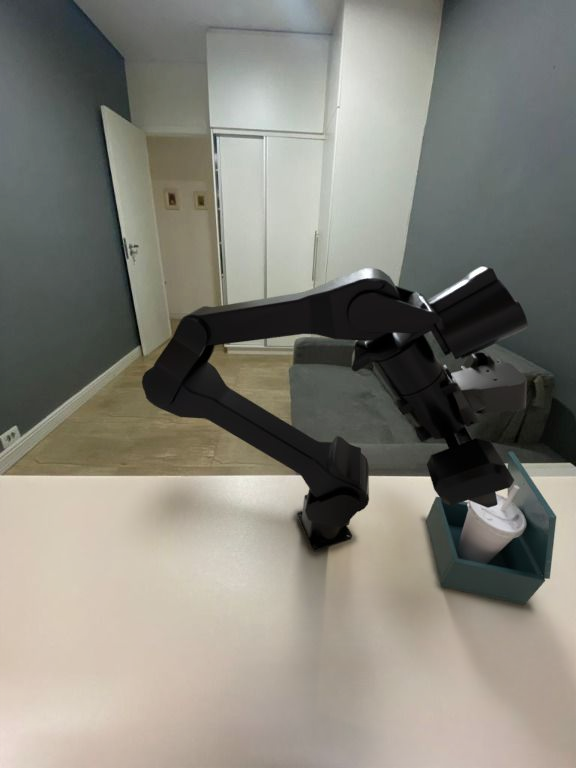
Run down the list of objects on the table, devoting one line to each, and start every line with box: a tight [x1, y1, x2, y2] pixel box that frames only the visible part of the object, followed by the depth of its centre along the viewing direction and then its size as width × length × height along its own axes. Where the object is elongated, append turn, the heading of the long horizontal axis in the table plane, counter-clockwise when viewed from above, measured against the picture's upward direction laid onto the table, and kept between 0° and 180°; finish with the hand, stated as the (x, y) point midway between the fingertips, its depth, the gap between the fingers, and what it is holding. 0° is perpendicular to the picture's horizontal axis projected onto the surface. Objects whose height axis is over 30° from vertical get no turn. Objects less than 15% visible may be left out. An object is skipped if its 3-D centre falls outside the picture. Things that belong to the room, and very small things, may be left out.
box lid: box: [507, 450, 557, 580], centre depth 38 cm, size 11×10×1 cm
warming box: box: [425, 496, 546, 605], centre depth 43 cm, size 10×10×6 cm
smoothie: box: [457, 485, 527, 564], centre depth 40 cm, size 6×6×14 cm
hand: (477, 474), depth 37 cm, fingers open, 9 cm apart
